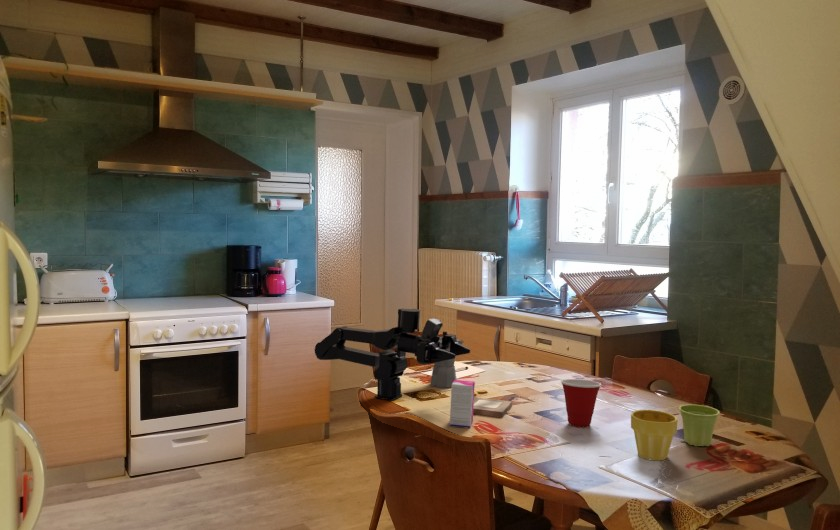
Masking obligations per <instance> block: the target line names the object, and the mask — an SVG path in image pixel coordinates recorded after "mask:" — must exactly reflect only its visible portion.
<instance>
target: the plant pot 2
mask: <svg viewBox="0 0 840 530" xmlns="http://www.w3.org/2000/svg"><path fill="white" fill-rule="evenodd" d="M678 410H679V411H680V416H681V419H682V428H683V437H684V438H683V439H684V442H685V443H688V445H690V446H692V445H694V447H697V446H702V447H709V446H711V443H712V438H713V434H714V430H715V429H714V428H715V425H716V421H717V419H718V416H719V415H720V414H721V413H720V410H718V409H717V408H714V407H712V406H708V405H703V404H701V405H700V404H683V405H680V406H679V408H678Z"/></svg>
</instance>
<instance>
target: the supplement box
mask: <svg viewBox="0 0 840 530" xmlns="http://www.w3.org/2000/svg"><path fill="white" fill-rule="evenodd" d="M475 384H476V382H475V381H472V380H460V379H457V380H454V382H453V383H452V388H450V390H451V391H450V412H449V413H450V414H449V427H452V426H457V427H456V428H464V427H468V428H467V429H470V428H471V426H472V424H473V422H474V414H473V406H474V397H475Z"/></svg>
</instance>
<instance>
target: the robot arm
mask: <svg viewBox="0 0 840 530" xmlns="http://www.w3.org/2000/svg"><path fill="white" fill-rule="evenodd" d="M397 314H398V315H397V326H394V327H392V328H390V329H389V328H388V329H380V330H374V329H373V330H371V329H364V328H354V327H348V326H340V327H336V328H335V329H334V330H333V331H332V332H331V333H329V335H327V336H325V337H324V338H323V339H321V341H320V342H319V341H318V342H317V343H316V345H315V346H314V354H315V356H316V358H317V360H319V361H330V360H331V361H333V360H343V361H345V362H350V363H354V364H359V365H363V366H368V367H373V368H375V370H374V371H373V372H372V373H373V376H374V379H375V380H377V389H376V390H377V391H376V394H375V395H374V398H377V399H381V400H385V401H386V400H387V401H394V400H396V399H399V398H401V397H403V394H402V383H401V377H403V375H404V372H405V370H406V369H407V368H408V359H407V357H406V355H407V353H408V354H413V355H414V357H416V362H417V363H418V365H423V366H425V365H426V366H427V365H431V364H434V363H436V362H440V361H445V360H450V359H454V358H455V356H456V357H457V356H463V355H466V354H470V353H471V349H470V348H468V347H467V346H465V345H463V344H459V343H458V342H457V339H458V338H457V335H456V334H452V333H449V334H447V335H445V336H444V337H443V336H442V337H443V338H442V344H441V345H440V342H439V340H440V337H441V336H439V333H440V331H441V329H442V328H443V325H444V324H443V323H442V321H441V319H437V318H434V317H433V318H429V319H427V320H426V322H425V324H424V327H423V329H422V331H421V335H420V334H414V333H416V330H417V331H418V330H419V329H420V317H421V310H420V309H418V308H398V310H397ZM347 341H348V342H355V343H362V344H363V343H364V344H370V345H372V346H374V347H375V348H377V349H380V350H383V351H379V352H372V351H367V350H364V349H358V348H354V347H349V346H345V344H346V342H347ZM395 348H396V350H392V349H395ZM425 359H427V360H425ZM455 359H456V358H455Z"/></svg>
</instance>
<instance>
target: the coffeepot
mask: <svg viewBox="0 0 840 530" xmlns="http://www.w3.org/2000/svg"><path fill="white" fill-rule="evenodd" d="M445 335H448V331H442V336H440V340H439V342H440V345H441V344H442V338H443V337H444V336H445ZM457 342H458V343H459V344H461V345H463V344H464V343H465V342H464V341H463V340H462V339H458V338H457ZM456 357H457V356H455V358H454V359H450V360H445V361H440V362H436V363H433V367H432V372H431V378H430V382H429V383H430V386H431V387H434V386H435V388H438V387H441V388H440V389H450V388H449V387H452V383H453V382H454V380H458V379H457V373H456V367H455V361H456ZM425 360H427V359H425Z"/></svg>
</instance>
